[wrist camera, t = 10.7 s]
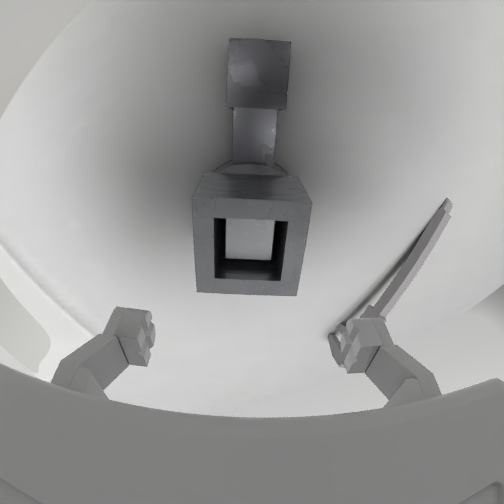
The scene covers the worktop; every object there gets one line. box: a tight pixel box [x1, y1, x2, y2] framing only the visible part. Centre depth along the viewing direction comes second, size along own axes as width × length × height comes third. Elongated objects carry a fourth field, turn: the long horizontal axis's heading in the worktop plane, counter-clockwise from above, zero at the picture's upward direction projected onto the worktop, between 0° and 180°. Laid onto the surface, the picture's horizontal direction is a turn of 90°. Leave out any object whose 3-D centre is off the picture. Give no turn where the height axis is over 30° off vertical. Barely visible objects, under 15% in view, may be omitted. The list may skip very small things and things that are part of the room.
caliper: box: [328, 198, 452, 368], centre depth 25 cm, size 20×1×6 cm, turn 150°
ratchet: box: [213, 38, 291, 260], centre depth 19 cm, size 17×8×6 cm, turn 177°
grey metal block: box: [192, 173, 312, 296], centre depth 19 cm, size 7×7×5 cm
